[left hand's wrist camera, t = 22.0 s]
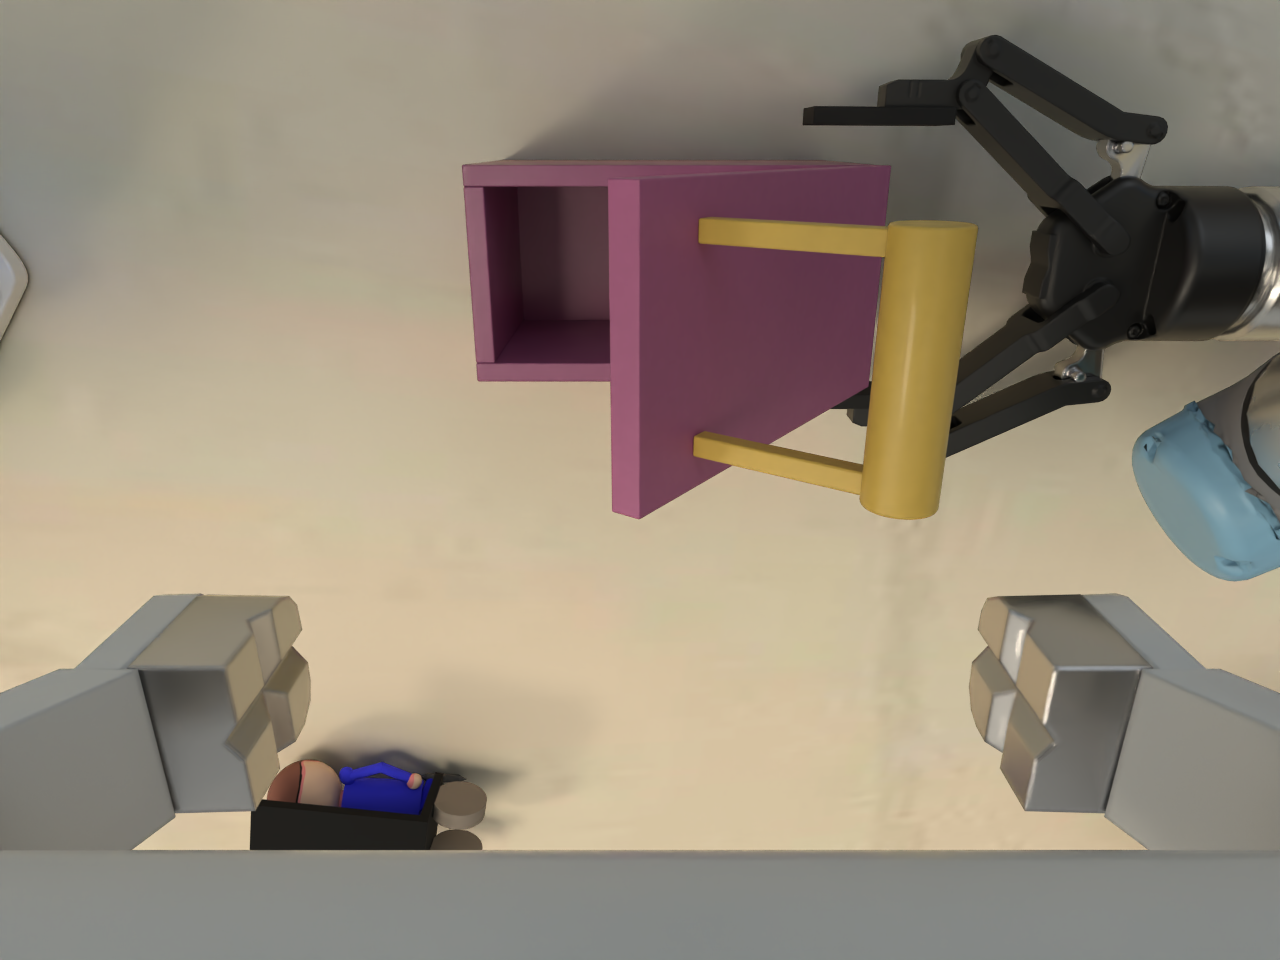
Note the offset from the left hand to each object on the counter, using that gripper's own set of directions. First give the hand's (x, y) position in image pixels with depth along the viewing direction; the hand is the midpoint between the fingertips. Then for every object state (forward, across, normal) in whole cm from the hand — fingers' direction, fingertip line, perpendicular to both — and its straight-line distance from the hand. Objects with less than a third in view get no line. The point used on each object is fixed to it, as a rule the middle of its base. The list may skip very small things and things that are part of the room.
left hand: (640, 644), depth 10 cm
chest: (+41, -1, 0) cm, 41 cm away
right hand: (+35, -8, 0) cm, 36 cm away
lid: (+22, -4, 0) cm, 22 cm away
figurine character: (+41, +18, +38) cm, 58 cm away
